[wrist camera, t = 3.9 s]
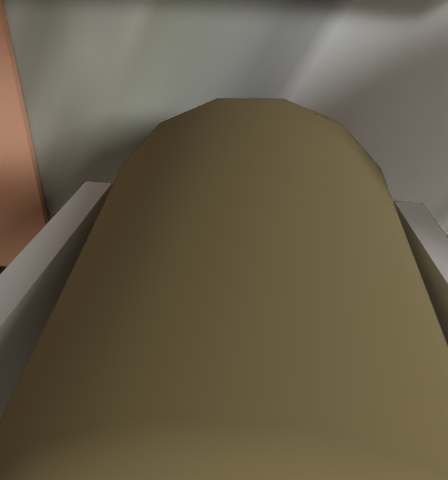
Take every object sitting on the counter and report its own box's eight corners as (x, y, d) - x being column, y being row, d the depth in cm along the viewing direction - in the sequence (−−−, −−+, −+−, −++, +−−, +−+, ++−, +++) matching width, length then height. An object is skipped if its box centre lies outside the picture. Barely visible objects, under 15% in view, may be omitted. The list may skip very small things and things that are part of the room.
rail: (-519, -225, 11) (-763, -295, 8) (580, -203, 10) (699, -277, 7) (-205, 279, 19) (-277, 323, 17) (398, 326, 18) (421, 381, 15)
